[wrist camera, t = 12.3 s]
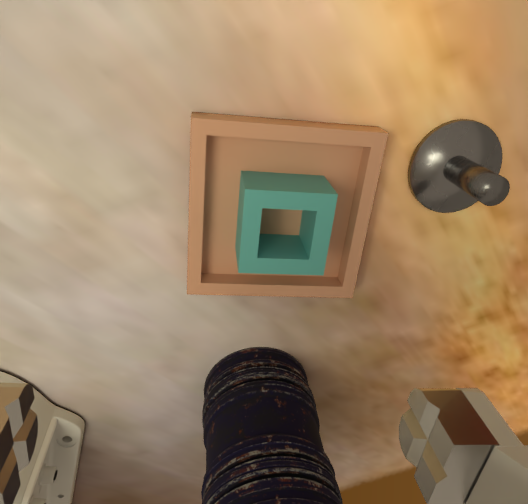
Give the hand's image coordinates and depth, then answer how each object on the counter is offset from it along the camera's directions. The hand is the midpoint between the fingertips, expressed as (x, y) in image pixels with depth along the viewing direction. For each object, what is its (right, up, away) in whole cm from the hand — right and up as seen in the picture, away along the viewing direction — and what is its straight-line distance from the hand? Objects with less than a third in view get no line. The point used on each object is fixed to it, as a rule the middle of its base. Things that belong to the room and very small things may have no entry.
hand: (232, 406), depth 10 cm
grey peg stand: (+15, +10, +24) cm, 30 cm away
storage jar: (0, -9, +32) cm, 33 cm away
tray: (+2, +7, +24) cm, 25 cm away
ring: (+2, +6, +23) cm, 24 cm away
